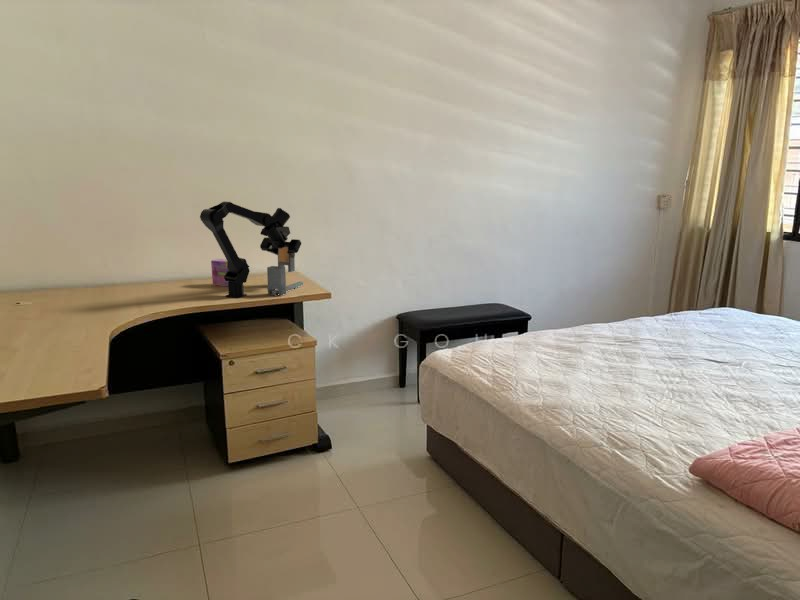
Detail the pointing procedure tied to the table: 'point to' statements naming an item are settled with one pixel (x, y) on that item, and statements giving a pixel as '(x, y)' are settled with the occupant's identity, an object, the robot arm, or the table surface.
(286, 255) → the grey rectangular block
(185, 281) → the table surface
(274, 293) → the rail
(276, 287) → the tall grey block
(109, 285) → the table surface
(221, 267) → the box
